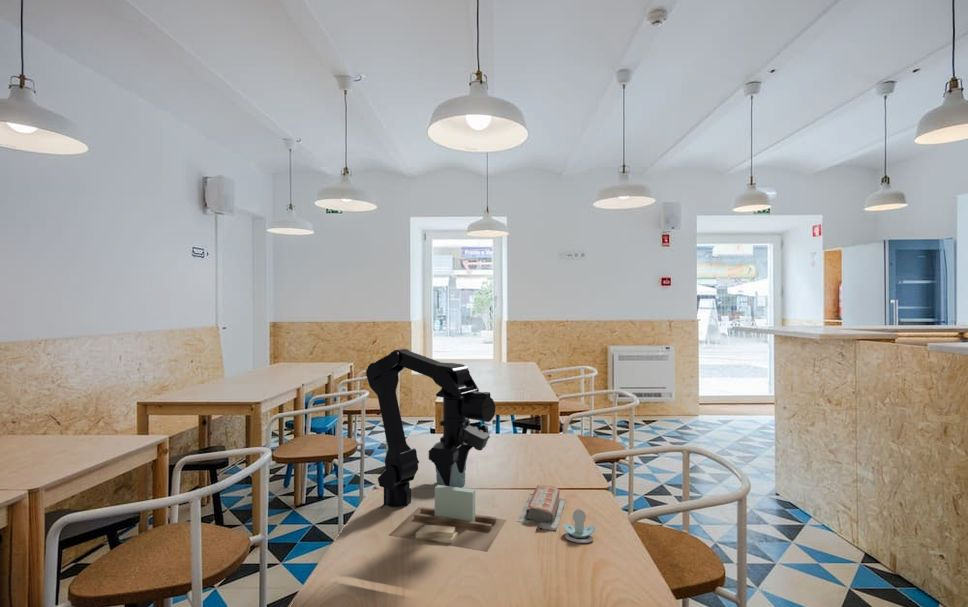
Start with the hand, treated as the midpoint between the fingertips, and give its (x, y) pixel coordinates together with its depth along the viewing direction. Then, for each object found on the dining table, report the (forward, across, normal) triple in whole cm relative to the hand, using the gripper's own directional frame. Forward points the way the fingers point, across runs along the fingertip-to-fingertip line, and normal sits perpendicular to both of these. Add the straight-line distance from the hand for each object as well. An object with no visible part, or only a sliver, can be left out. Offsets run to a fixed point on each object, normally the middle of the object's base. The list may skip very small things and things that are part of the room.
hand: (454, 478), depth 121 cm
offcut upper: (+9, -9, 0) cm, 13 cm away
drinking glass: (+12, +24, +11) cm, 29 cm away
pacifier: (+12, +3, -30) cm, 33 cm away
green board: (+10, 0, 0) cm, 10 cm away
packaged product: (+12, +13, -20) cm, 27 cm away
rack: (+11, -4, 0) cm, 12 cm away
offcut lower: (+10, -9, +1) cm, 14 cm away
